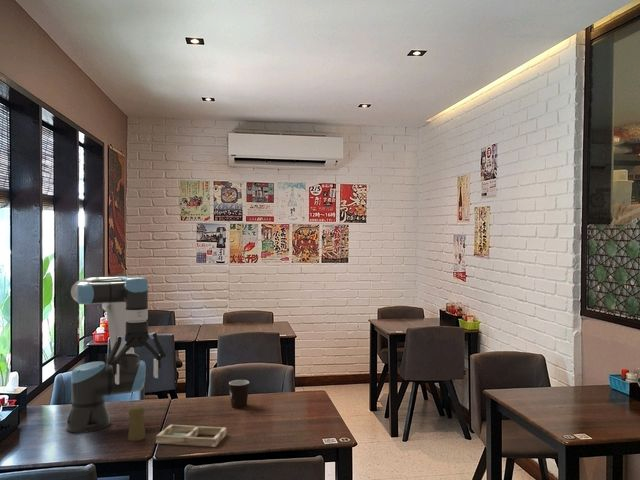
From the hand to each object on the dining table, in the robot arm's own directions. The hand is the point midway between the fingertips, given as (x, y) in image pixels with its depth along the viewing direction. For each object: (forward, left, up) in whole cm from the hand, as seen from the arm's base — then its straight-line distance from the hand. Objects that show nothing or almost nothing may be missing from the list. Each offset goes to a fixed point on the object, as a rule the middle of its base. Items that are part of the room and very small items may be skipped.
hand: (136, 380), depth 185 cm
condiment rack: (+20, +2, -20) cm, 29 cm away
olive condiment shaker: (0, 0, -21) cm, 21 cm away
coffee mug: (+25, +41, -21) cm, 52 cm away
